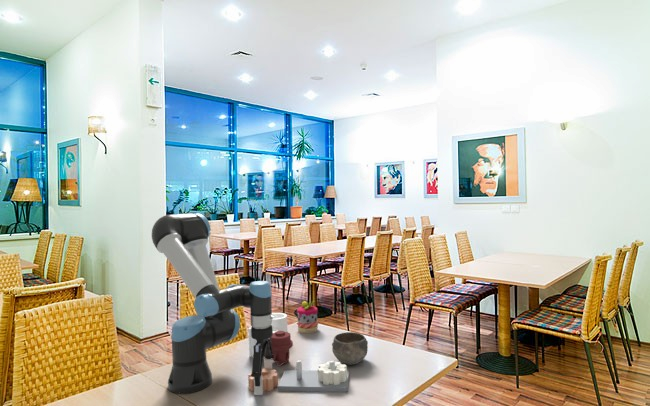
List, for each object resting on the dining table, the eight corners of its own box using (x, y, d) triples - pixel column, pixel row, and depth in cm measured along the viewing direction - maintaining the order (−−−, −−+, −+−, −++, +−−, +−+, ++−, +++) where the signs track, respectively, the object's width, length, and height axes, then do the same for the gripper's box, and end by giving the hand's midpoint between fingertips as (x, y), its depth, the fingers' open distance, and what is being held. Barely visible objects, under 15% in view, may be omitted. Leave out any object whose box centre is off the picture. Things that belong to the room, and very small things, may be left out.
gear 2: (322, 387, 137) (322, 375, 137) (315, 374, 147) (314, 363, 147) (351, 382, 140) (350, 371, 140) (341, 370, 150) (341, 359, 150)
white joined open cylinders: (267, 359, 166) (266, 330, 166) (246, 357, 169) (245, 328, 169) (291, 339, 190) (290, 313, 190) (272, 337, 193) (271, 312, 193)
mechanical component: (296, 358, 167) (289, 368, 157) (273, 357, 169) (264, 367, 159) (295, 328, 166) (288, 336, 157) (272, 327, 168) (263, 335, 159)
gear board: (277, 390, 139) (277, 368, 139) (285, 374, 152) (284, 354, 152) (347, 392, 136) (346, 369, 136) (349, 375, 149) (348, 355, 149)
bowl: (329, 368, 156) (328, 342, 156) (337, 353, 171) (336, 329, 171) (365, 370, 152) (364, 344, 152) (370, 355, 167) (369, 331, 167)
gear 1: (245, 392, 138) (244, 380, 138) (253, 378, 149) (253, 367, 149) (274, 392, 137) (273, 381, 137) (280, 379, 147) (280, 368, 147)
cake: (294, 332, 199) (293, 302, 198) (302, 326, 209) (301, 297, 208) (314, 334, 195) (313, 303, 195) (321, 327, 205) (320, 298, 205)
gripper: (262, 337, 130) (265, 403, 130) (279, 315, 155) (281, 370, 155) (240, 337, 131) (242, 402, 131) (260, 315, 155) (262, 370, 156)
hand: (263, 385), depth 143 cm, fingers open, 13 cm apart
